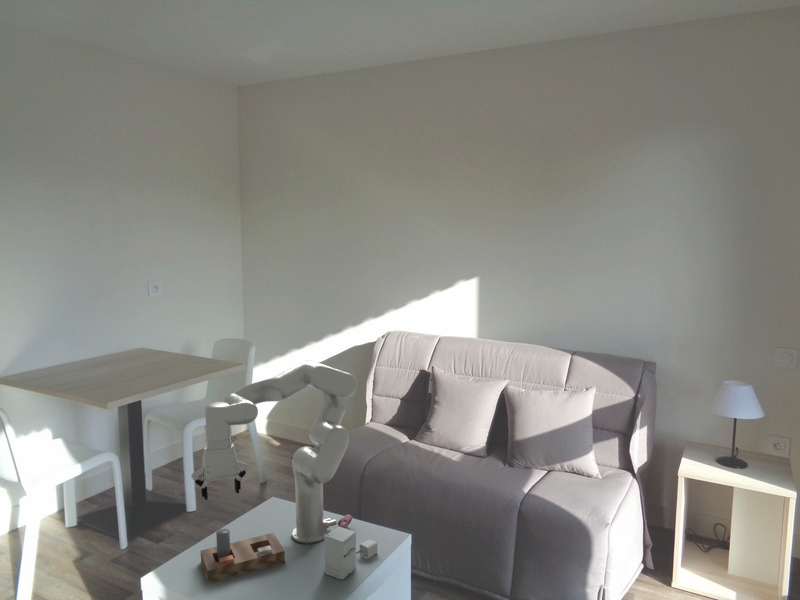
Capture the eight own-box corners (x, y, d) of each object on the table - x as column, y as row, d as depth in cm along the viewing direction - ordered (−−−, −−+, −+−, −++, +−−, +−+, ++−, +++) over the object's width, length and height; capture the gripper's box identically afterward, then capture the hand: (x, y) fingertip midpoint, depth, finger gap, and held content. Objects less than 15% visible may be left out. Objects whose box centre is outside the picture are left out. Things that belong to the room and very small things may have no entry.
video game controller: (341, 543, 203) (349, 527, 202) (329, 537, 203) (338, 520, 202) (348, 529, 213) (356, 514, 211) (337, 523, 213) (345, 507, 212)
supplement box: (342, 580, 179) (342, 542, 177) (323, 573, 183) (323, 535, 181) (356, 569, 185) (356, 531, 183) (338, 562, 189) (337, 525, 187)
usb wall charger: (377, 554, 194) (377, 542, 193) (362, 562, 189) (362, 551, 188) (369, 549, 196) (369, 538, 196) (353, 558, 191) (353, 546, 191)
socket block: (273, 543, 200) (273, 528, 199) (285, 562, 189) (284, 546, 188) (201, 562, 189) (200, 546, 188) (208, 583, 177) (207, 566, 177)
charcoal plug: (229, 562, 189) (228, 527, 187) (232, 568, 185) (230, 533, 184) (216, 566, 187) (215, 530, 185) (219, 572, 183) (217, 536, 182)
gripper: (244, 434, 189) (246, 484, 191) (188, 443, 181) (190, 496, 183) (250, 441, 182) (251, 493, 184) (192, 451, 174) (194, 506, 176)
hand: (221, 495), depth 183 cm, fingers open, 9 cm apart
